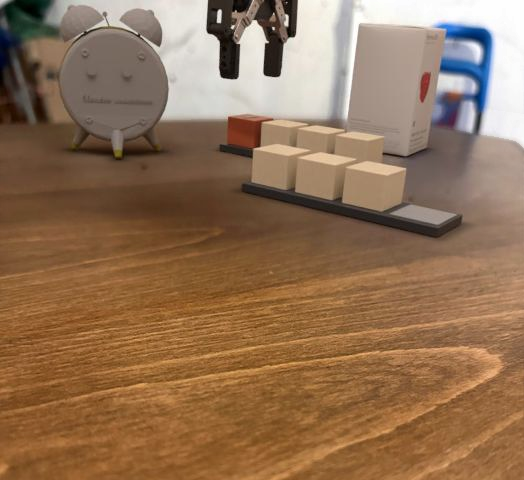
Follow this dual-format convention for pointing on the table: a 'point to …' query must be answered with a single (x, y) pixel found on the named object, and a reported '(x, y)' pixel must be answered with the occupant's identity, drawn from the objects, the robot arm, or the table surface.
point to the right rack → (343, 188)
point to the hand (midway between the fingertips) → (251, 77)
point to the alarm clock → (113, 77)
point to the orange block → (245, 130)
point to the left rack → (316, 141)
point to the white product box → (395, 84)
